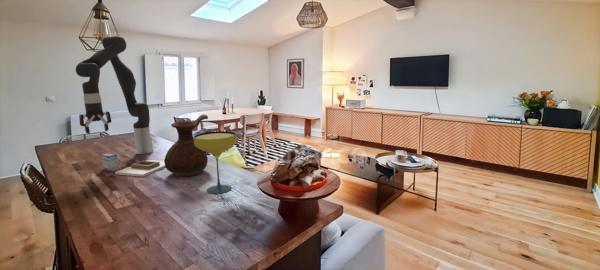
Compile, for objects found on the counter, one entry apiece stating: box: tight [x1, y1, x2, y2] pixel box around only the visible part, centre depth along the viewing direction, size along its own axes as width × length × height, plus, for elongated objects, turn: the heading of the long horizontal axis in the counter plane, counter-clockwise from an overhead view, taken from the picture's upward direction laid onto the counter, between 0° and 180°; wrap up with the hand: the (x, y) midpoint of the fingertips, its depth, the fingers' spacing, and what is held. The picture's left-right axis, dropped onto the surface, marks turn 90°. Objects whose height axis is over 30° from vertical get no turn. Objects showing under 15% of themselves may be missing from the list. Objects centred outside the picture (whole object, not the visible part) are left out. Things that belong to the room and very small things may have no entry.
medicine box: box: [100, 153, 120, 172], centre depth 178 cm, size 8×4×9 cm, turn 62°
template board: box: [114, 159, 166, 177], centre depth 179 cm, size 24×18×3 cm
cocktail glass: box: [193, 130, 238, 195], centre depth 143 cm, size 18×18×25 cm
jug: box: [163, 114, 209, 178], centre depth 167 cm, size 22×22×30 cm
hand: (97, 132), depth 173 cm, fingers open, 8 cm apart
